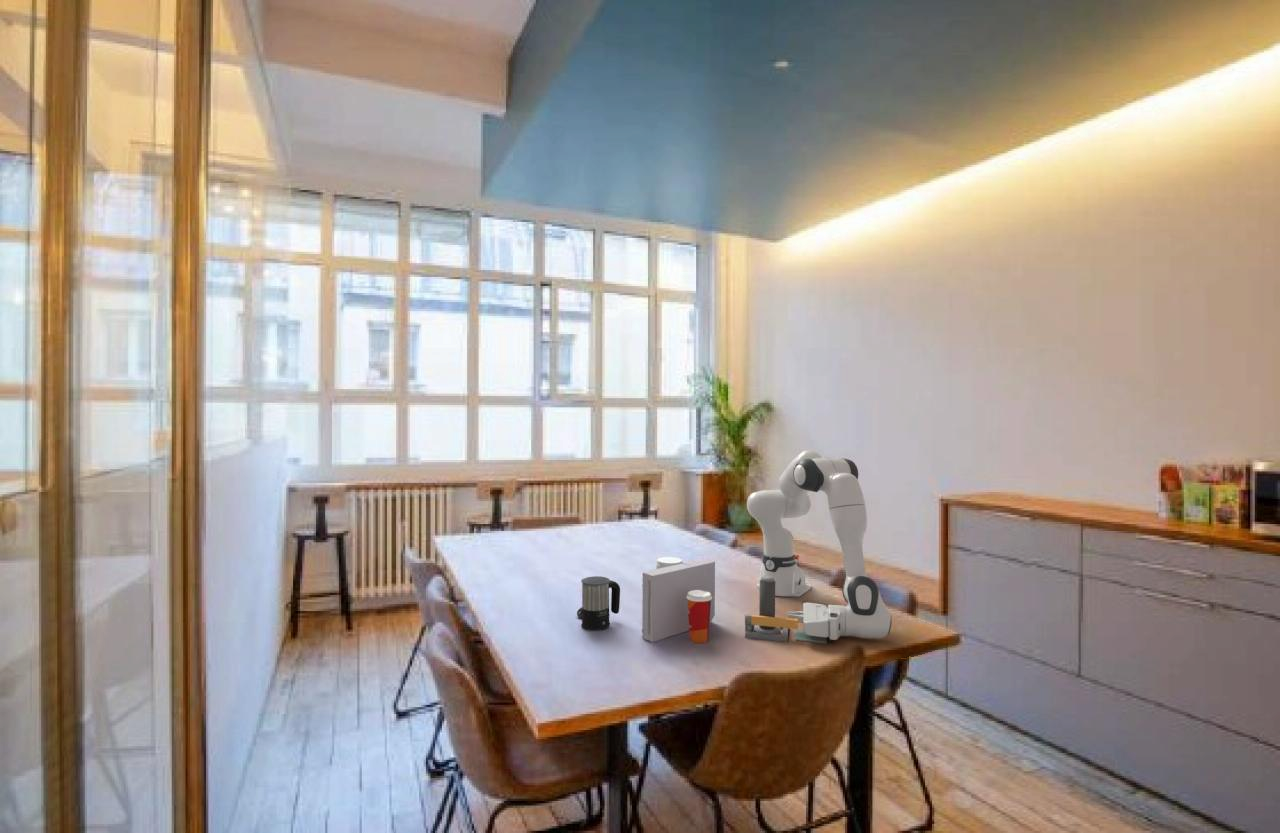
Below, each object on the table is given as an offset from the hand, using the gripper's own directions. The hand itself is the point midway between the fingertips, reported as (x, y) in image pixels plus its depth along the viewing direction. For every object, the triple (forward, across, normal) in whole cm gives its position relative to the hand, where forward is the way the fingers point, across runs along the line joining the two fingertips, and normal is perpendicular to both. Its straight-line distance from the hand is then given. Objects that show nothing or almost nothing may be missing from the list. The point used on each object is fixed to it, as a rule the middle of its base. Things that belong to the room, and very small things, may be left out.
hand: (787, 615), depth 187 cm
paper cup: (+26, +14, +5) cm, 30 cm away
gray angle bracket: (+6, +2, +5) cm, 8 cm away
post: (+12, +5, +5) cm, 14 cm away
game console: (+33, +7, +5) cm, 35 cm away
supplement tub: (+42, -21, +5) cm, 48 cm away
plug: (+6, +2, +5) cm, 8 cm away
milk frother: (+62, +8, +5) cm, 63 cm away
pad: (-7, +2, +5) cm, 9 cm away
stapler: (+5, +5, +2) cm, 7 cm away
